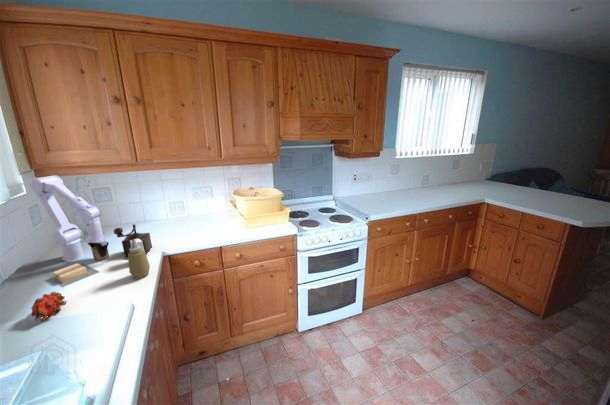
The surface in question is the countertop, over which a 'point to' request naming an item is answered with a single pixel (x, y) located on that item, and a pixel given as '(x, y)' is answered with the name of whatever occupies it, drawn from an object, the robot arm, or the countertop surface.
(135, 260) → the squeeze bottle
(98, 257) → the walnut block
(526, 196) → the countertop surface
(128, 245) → the coffee grinder
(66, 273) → the oak base
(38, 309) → the dragon fruit
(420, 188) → the countertop surface
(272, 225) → the countertop surface
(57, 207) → the robot arm
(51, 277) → the slate mat
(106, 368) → the countertop surface
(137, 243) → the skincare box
